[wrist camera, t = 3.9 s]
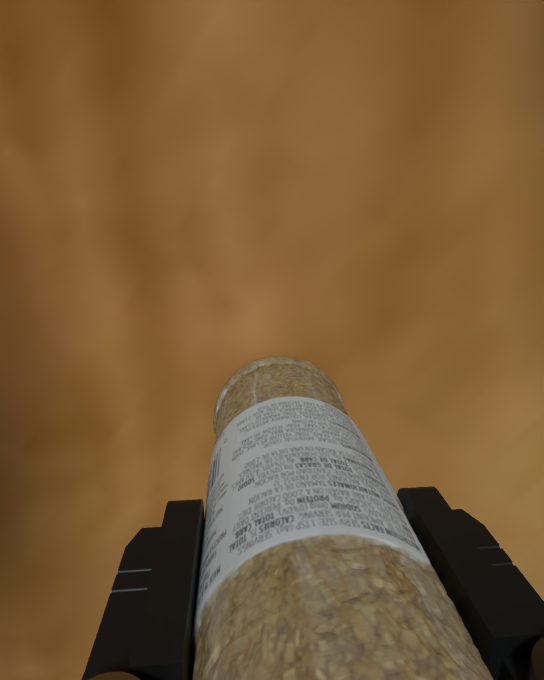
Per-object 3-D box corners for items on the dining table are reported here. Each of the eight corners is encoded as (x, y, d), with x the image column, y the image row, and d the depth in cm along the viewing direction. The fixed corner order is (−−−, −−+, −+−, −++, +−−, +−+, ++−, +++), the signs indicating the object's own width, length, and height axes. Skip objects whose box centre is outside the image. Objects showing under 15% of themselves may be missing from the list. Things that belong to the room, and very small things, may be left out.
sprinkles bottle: (317, 481, 16) (642, 1560, 3) (197, 453, 15) (0, 1699, 3) (360, 370, 15) (1131, 1351, 2) (233, 334, 14) (211, 1504, 1)
